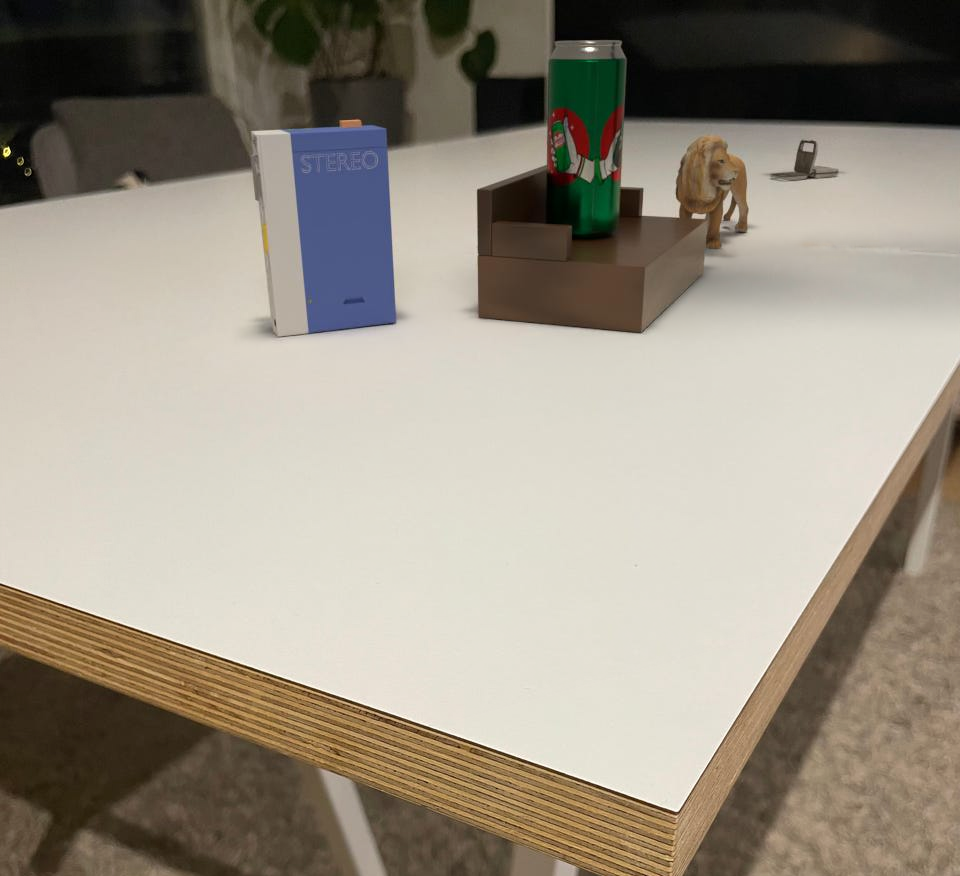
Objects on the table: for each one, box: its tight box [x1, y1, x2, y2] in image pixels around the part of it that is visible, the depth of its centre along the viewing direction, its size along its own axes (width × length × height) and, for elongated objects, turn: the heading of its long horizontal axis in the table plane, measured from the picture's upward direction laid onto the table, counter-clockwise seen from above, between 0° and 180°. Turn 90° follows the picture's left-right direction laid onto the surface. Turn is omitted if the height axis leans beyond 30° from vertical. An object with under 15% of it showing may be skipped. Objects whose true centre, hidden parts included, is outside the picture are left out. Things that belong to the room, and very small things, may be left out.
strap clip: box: [769, 138, 839, 181], centre depth 124 cm, size 8×3×4 cm, turn 115°
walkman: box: [250, 119, 397, 338], centre depth 64 cm, size 8×3×12 cm, turn 112°
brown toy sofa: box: [476, 164, 708, 334], centre depth 72 cm, size 11×18×8 cm, turn 157°
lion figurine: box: [675, 134, 750, 249], centre depth 89 cm, size 15×5×9 cm, turn 160°
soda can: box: [546, 39, 628, 239], centre depth 70 cm, size 5×5×12 cm
